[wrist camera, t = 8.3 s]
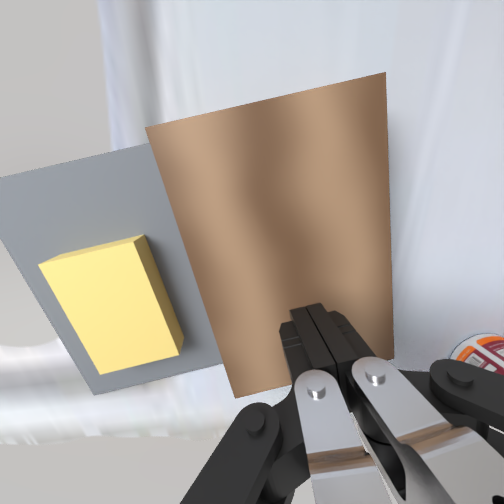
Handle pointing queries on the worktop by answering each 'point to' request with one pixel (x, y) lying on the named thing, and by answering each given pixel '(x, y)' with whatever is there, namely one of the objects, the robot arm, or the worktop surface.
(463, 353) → the pill bottle
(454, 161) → the worktop surface
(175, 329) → the yellow rectangular block
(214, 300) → the brown wooden block
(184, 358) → the mat
